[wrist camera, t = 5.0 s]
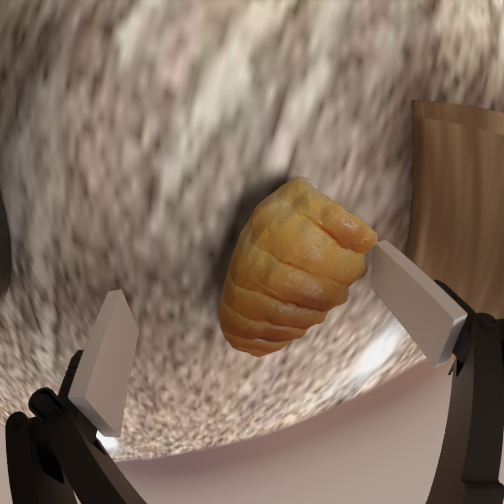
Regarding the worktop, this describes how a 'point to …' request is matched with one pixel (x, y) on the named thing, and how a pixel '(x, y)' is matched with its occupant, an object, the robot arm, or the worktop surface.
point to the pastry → (291, 267)
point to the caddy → (459, 201)
